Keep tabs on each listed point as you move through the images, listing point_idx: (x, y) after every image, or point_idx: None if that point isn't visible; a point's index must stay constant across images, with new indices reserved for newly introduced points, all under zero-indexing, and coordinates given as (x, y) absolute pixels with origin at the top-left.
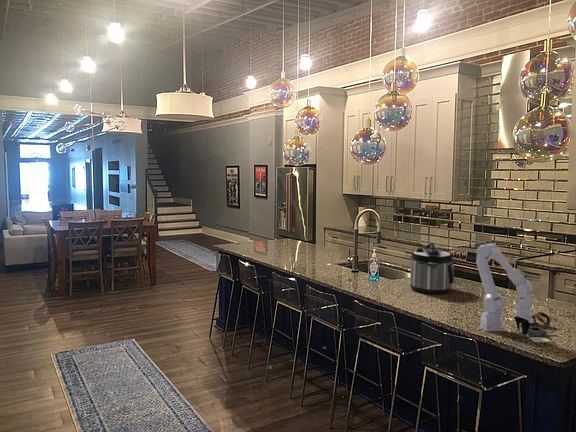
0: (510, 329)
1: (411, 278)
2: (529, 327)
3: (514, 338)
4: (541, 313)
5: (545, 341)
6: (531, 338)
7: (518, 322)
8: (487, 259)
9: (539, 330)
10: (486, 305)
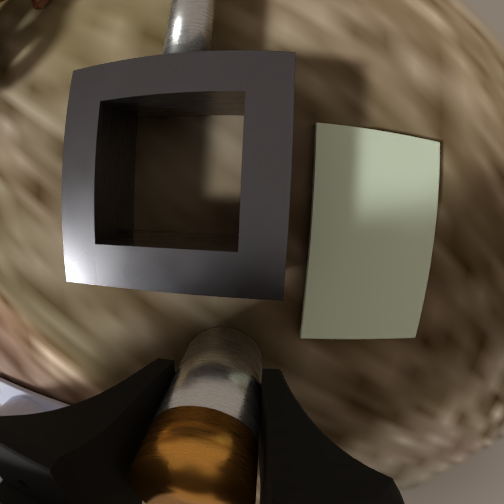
0: (31, 330)
1: None
2: (318, 429)
3: None
4: None
5: (434, 211)
6: (328, 322)
7: (137, 495)
8: None
9: (169, 99)
10: None
